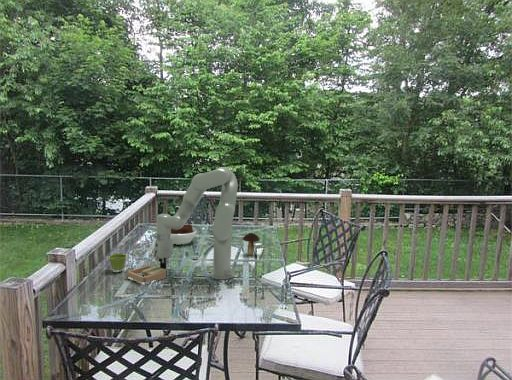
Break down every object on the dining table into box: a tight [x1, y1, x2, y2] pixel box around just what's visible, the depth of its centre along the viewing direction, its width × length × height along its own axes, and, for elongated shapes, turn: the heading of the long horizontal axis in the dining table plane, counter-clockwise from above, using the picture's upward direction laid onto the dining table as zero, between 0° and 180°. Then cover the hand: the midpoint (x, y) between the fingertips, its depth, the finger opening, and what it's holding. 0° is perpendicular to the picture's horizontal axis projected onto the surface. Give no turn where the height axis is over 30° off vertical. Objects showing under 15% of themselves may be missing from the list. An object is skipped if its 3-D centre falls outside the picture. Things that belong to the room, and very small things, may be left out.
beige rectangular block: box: [142, 266, 168, 276], centre depth 220 cm, size 8×11×4 cm
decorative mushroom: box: [242, 232, 260, 256], centre depth 265 cm, size 11×11×15 cm
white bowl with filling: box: [171, 223, 198, 246], centre depth 287 cm, size 25×25×15 cm
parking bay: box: [125, 264, 167, 282], centre depth 216 cm, size 14×14×4 cm
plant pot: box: [108, 253, 128, 270], centre depth 225 cm, size 9×9×9 cm
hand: (163, 268), depth 226 cm, fingers closed
